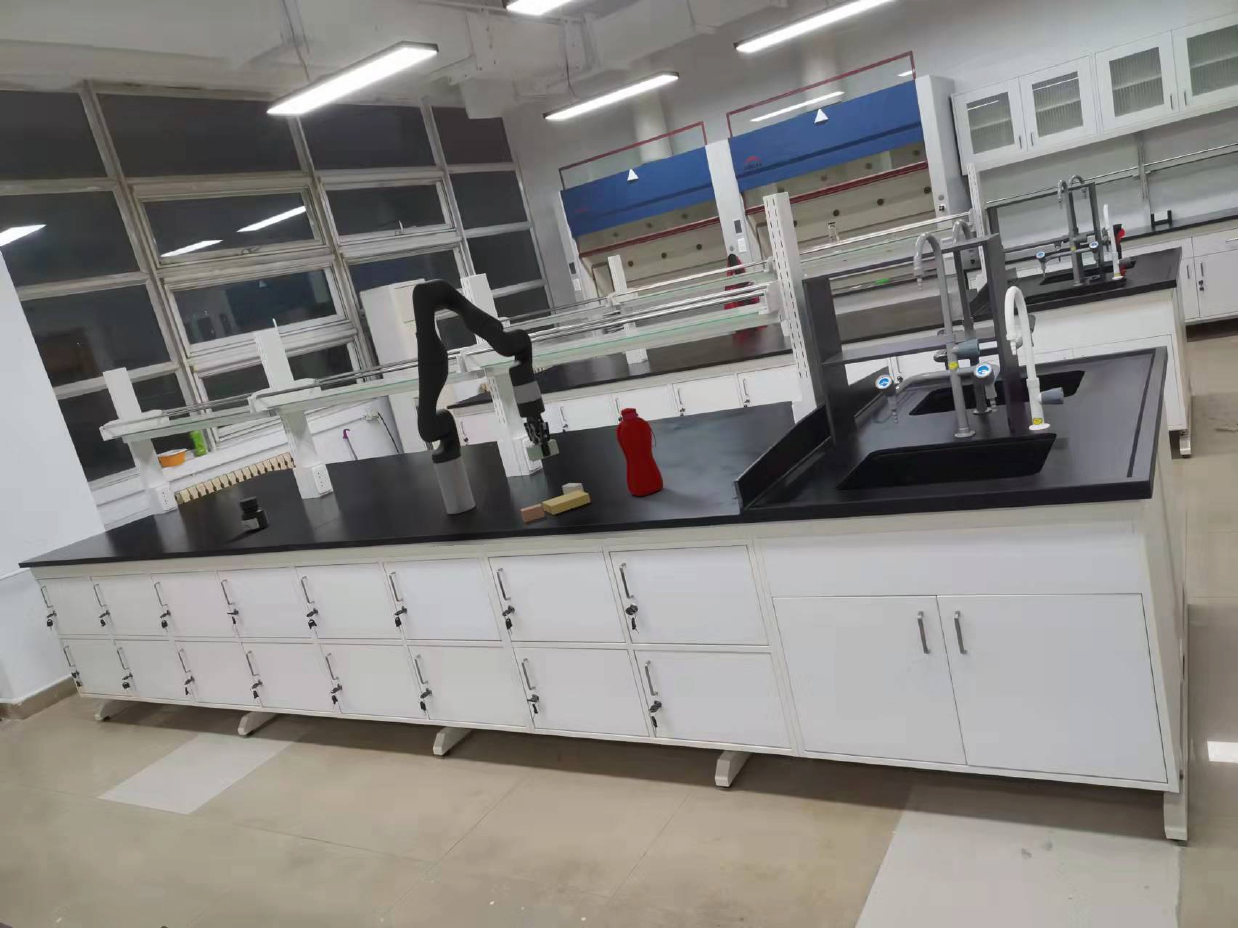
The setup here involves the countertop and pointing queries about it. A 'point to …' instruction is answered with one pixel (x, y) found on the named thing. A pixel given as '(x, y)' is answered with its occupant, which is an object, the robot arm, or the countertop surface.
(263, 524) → the ink bottle
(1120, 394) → the countertop surface
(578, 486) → the cream brick
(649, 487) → the water bottle
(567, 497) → the mustard base brick
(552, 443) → the sage brick
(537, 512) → the rust brick
